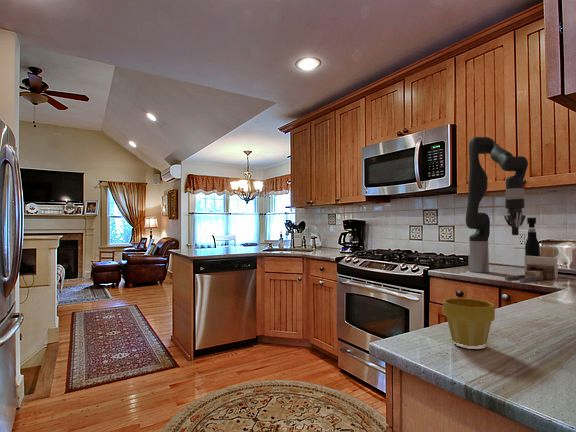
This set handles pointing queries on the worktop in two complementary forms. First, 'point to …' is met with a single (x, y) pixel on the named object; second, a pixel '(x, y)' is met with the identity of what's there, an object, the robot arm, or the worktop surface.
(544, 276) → the block
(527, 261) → the backstop board
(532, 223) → the wine bottle
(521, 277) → the guide rails
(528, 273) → the peg
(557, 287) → the worktop surface
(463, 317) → the plant pot
